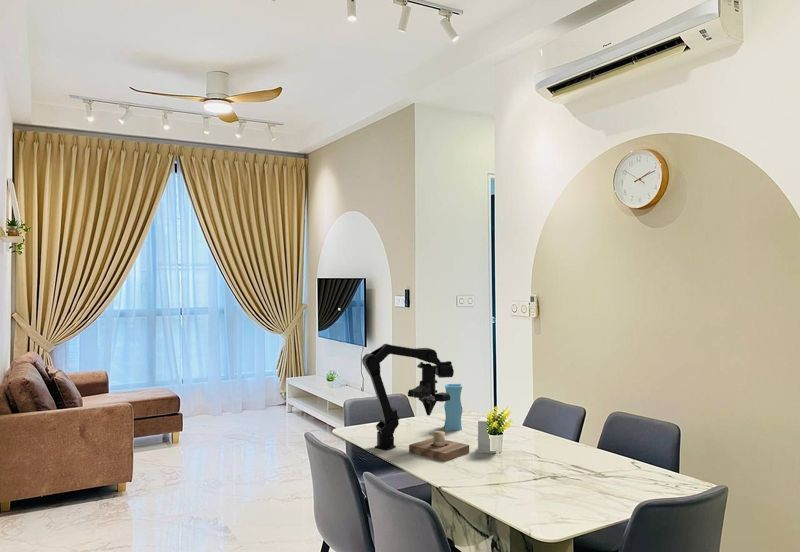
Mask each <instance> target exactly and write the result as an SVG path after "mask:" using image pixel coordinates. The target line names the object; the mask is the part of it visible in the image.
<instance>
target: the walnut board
mask: <svg viewBox="0 0 800 552" xmlns="http://www.w3.org/2000/svg"><path fill="white" fill-rule="evenodd" d="M408 453H410V454H415V455H419V456H423V457H426V458H431V459H435V460H439V461H444V462H448V461H450V460H452V459H456V458H457V457H460V456H464V455H466V454H468V453H470V444H466V443H462V442H457V441H453V440H452V441H451V440H448V439H445V446H444V447H441V448H439V447H435V446H433V437H431V438H427V439H424V440H421V441H417V442H413V443H411V444H409V445H408Z"/></svg>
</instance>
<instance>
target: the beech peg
mask: <svg viewBox="0 0 800 552" xmlns="http://www.w3.org/2000/svg"><path fill="white" fill-rule="evenodd" d="M432 438H433V446H435V447H439V448H441V447H444V446H445V440H446V433H445V431H442V430H436V431H433V435H432Z"/></svg>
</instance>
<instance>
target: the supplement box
mask: <svg viewBox="0 0 800 552" xmlns="http://www.w3.org/2000/svg"><path fill="white" fill-rule="evenodd" d="M487 418H488V417H478V421H477V422H478V423H477V453H481V454H496V453H497V450H496V451H490V439H489V435H488V432H487Z"/></svg>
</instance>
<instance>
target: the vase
mask: <svg viewBox="0 0 800 552" xmlns="http://www.w3.org/2000/svg"><path fill="white" fill-rule="evenodd" d="M444 387H445V393H449V395H450V400H448V401H444V405H443V406H444V413H445V414H444V415H445V420H444V428H445V431H463V427H462V414H463V406H462V401H461V394H462V390H463V386H462V384H461V383H444Z"/></svg>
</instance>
